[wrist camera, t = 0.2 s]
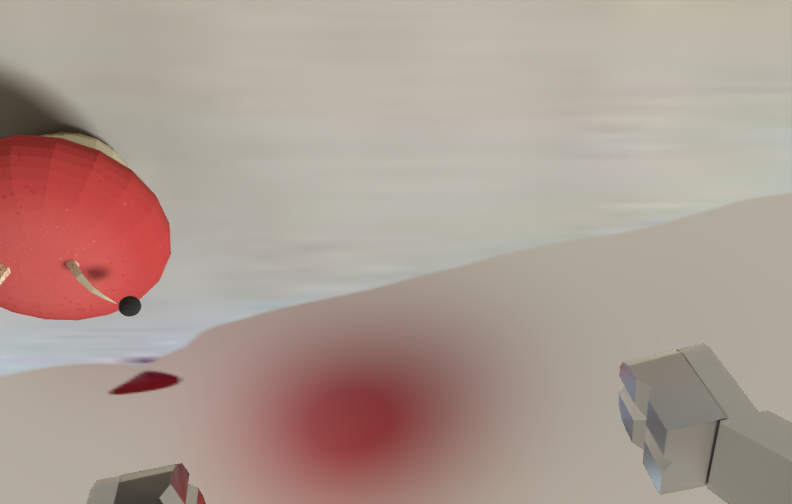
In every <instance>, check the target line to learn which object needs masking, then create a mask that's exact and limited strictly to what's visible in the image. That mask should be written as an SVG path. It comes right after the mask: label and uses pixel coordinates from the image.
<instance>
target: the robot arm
mask: <svg viewBox="0 0 792 504" xmlns="http://www.w3.org/2000/svg"><path fill="white" fill-rule="evenodd" d="M619 376H620V378H621V380H622V382H623V384H624V387H623V388H622V389H621V391H620V392H619V409H620V413H621V418H622V421H623V424H624V426H625V429H626V431H627V433H628V435H629V437H630V439H631V441H632V442H633V443H634V444H636V445H637V446H639V447H641V448H642V449H644V454H643V464H644V466H645V468H646V470H647V472H648V474H649V476H650V477H651V479H652V481H653V483H654V485H655V487H656V489H657V490H658V493H659V495H662V494H667V493H672V492H677V491H682V490H687V489H692V488H697V487H702V486H707V485H708V486H707V488H708V489H709V490H710V491H712V492H713V493H714V494H716V495H717V496H719V497H720V498H721V499H722V500H724V501H725V502H727V503H728V504H792V423H791V422H789V421H787V420H785V419H783V418H781V417H779V416H778V415H775V414H774V413H772V412H769V411H768V410H767V411H761V412H759V411H758V410H757V409H756V407H755V406H754V405H753V403H752V402H751V401H750V399H749V398H748V397H747V395H746V394H745V393H744V391H743V390H742V389H741V388H740V386H739V385H738V383H737V382H736V381H735V380H734V378H733V377H732V375H731V374H730V373H729V372H728V370H727V369H726V368H725V366H724V365H723V364H722V362H721V361H720V360H719V358H718V357H717V356H716V354H715V353H714V352H713V350H712V349H711V348H710V347H709V346H707V345H706V344H699V345H695V346H691V347H686V348H681V349H678V350H670V351H666V352H662V353H658V354H654V355H650V356H646V357H641V358H637V359H633V360H629V361H625V362H622V364H621V366H620V374H619ZM188 481H189V472H188V471H187V469H186V468H185V467H184V465H183V464H182V463H180V464H174V465H169V466H164V467H159V468H154V469H149V470H144V471H139V472H134V473H129V474H124V475H120V476H115V477H110V478H105V479H101V480H97V481H96V483H95V484H94V485H93V487H92V488H91V490H90V493H89V497H88V501H87V504H206V503H205V500H204V497H203V495H202V493H201V491H200V490H199V488H198V487H195V486H193V485H191V484H188Z"/></svg>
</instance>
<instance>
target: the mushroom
mask: <svg viewBox="0 0 792 504" xmlns="http://www.w3.org/2000/svg"><path fill="white" fill-rule="evenodd" d="M170 254H171V250H170V228H169V222H168V220H167V218H166V216H165V214H164V212H163V209H162V207H161V205H160V203H159V201H158V199H157V197H156V196H155V194H154V193H153V192H152V191H151V190H150V189H149V188H148V187H147V186H146V185H145V184H144V183H143V181H142V180H141V179H140V178H139V177H138V176H137V175H136V174H135V173H134V172H133V171H132V170H131V169H129V168H128V166H127V164H126V162H125V161H124V160H123V159H122V158H121V157H120V156H119V155H118V154H117V153H116V152H115V151H114V150H113V149H112V148H111V147H109V146H108V145H106V144H105V143H103V142H101V141H100V140H98V139H96V138H93V137H90V136H87V135H84V134H81V133H73V132H62V131H61V132H55V133H49V134H43V135H40V136H33V135H15V136H10V137H4V138H0V307H2V308H5V309H7V310H9V311H12V312H15V313H19V314H24V315H28V316H33V317H38V318H42V319H53V320H81V319H87V318H92V317H98V316H103V315H108V314H111V313H114V312H116V311H118V310H119V311H120V312H121V314H123V315H125V316H133V315H136V314H137V313H138V312H139V311H140V309H141V303H140V301H139V299H141V298H142V297H143V296H144V295H145V294H146V293H147V292H148V291H149V290H150V289H151V288H152V287H153V286H154V285H155V284H156V283H157V282H159V280H160V278H161V275H162V273H163V271H164V268H165V266H166V264H167V261H168V259H169V257H170Z"/></svg>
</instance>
